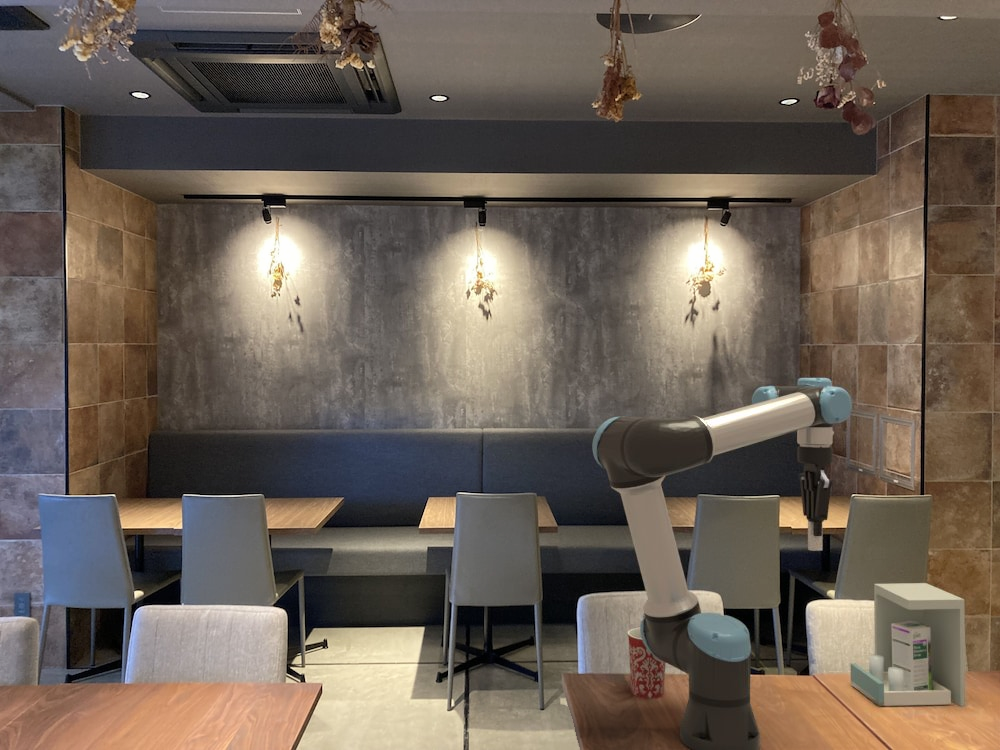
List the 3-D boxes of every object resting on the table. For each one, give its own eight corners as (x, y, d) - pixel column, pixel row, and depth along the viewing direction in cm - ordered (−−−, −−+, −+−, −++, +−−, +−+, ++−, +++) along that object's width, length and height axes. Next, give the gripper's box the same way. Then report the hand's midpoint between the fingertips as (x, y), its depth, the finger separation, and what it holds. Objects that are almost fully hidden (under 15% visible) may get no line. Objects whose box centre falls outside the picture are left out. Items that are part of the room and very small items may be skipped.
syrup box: (912, 695, 185) (912, 628, 185) (891, 686, 190) (890, 621, 190) (932, 691, 187) (931, 626, 187) (910, 682, 192) (910, 619, 192)
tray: (878, 705, 181) (878, 673, 181) (850, 684, 194) (850, 653, 194) (950, 704, 182) (950, 671, 182) (918, 682, 195) (917, 652, 195)
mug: (671, 700, 185) (670, 639, 186) (629, 700, 186) (629, 638, 186) (663, 680, 198) (662, 623, 198) (624, 679, 198) (624, 622, 199)
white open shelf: (909, 707, 181) (908, 600, 181) (874, 682, 196) (874, 583, 196) (965, 706, 182) (964, 599, 182) (926, 681, 197) (925, 583, 197)
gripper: (844, 447, 185) (844, 555, 184) (819, 443, 198) (819, 544, 197) (810, 447, 184) (810, 555, 184) (787, 443, 197) (787, 544, 197)
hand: (815, 549), depth 191 cm, fingers closed
